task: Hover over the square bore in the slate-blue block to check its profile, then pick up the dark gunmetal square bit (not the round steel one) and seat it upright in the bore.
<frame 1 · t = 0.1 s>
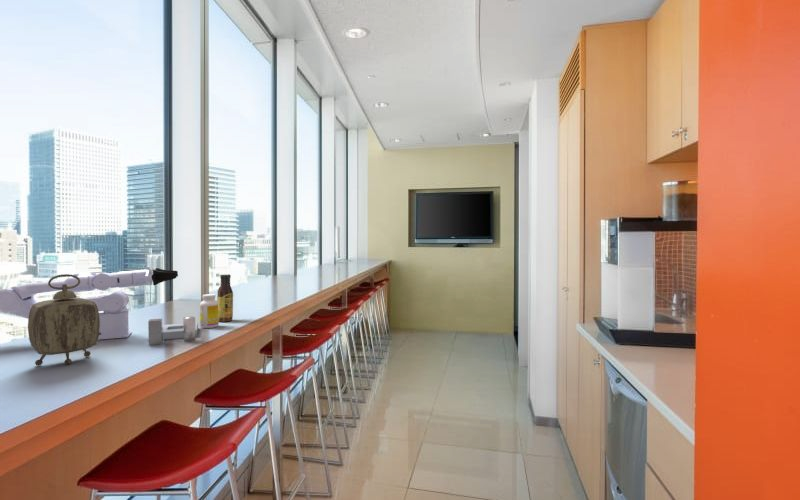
hand: (176, 274, 150), 22 cm above the counter, tool horizontal, fingers open, 7 cm apart
round bit: (189, 340, 137), on the counter
sauce bottle: (225, 321, 170), on the counter
supplement bottle: (209, 327, 159), on the counter
tabletop clock: (66, 363, 112), on the counter
bore block: (175, 334, 146), on the counter
square bit: (155, 343, 133), on the counter
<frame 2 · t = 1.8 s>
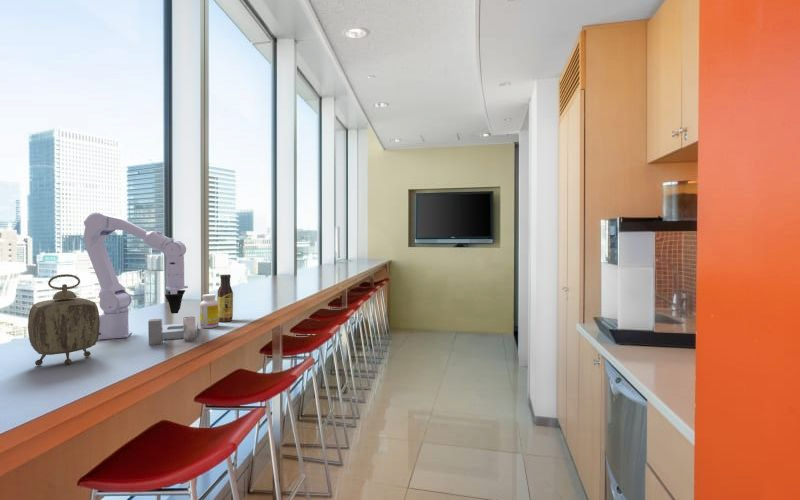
hand: (175, 311, 146), 8 cm above the counter, tool pointing down, fingers open, 7 cm apart
nothing on the counter moved.
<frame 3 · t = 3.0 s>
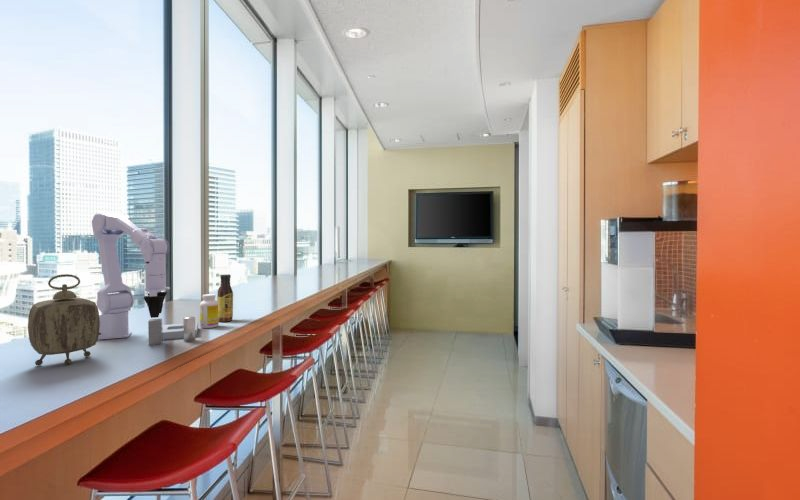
hand: (156, 315, 133), 9 cm above the counter, tool pointing down, fingers open, 7 cm apart
nothing on the counter moved.
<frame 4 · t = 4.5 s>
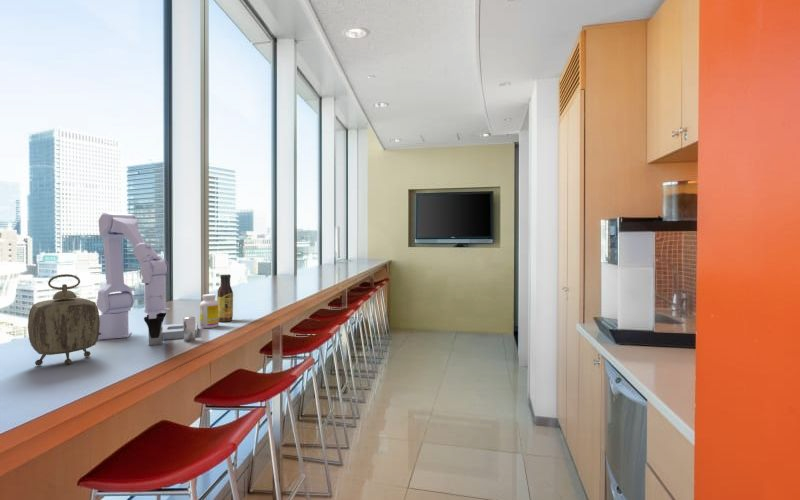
hand: (155, 336, 133), 2 cm above the counter, tool pointing down, fingers closed on square bit, 4 cm apart
square bit: (155, 343, 133), on the counter, touching gripper
everything else where it was.
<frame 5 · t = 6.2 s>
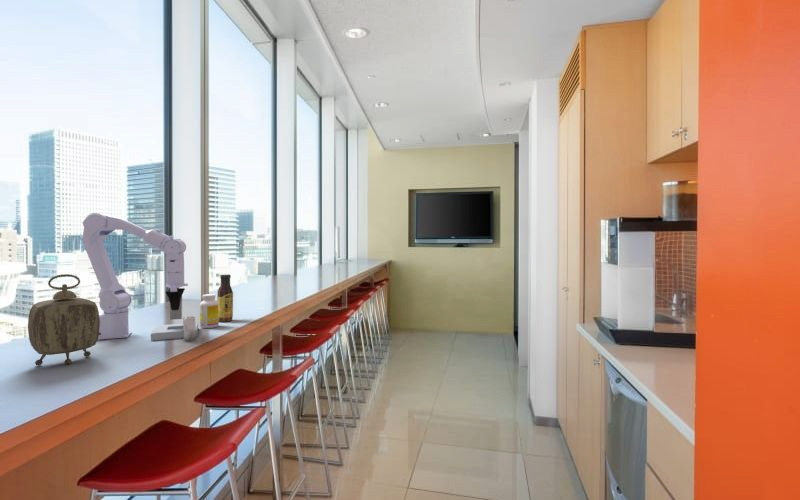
hand: (175, 309, 146), 9 cm above the counter, tool pointing down, fingers closed on square bit, 4 cm apart
square bit: (176, 318, 146), point 6 cm above the counter, touching gripper
everything else where it was.
when the fingers open (3 cm above the counter, at t = 7.9 s): square bit stays where it is, resting in bore block.
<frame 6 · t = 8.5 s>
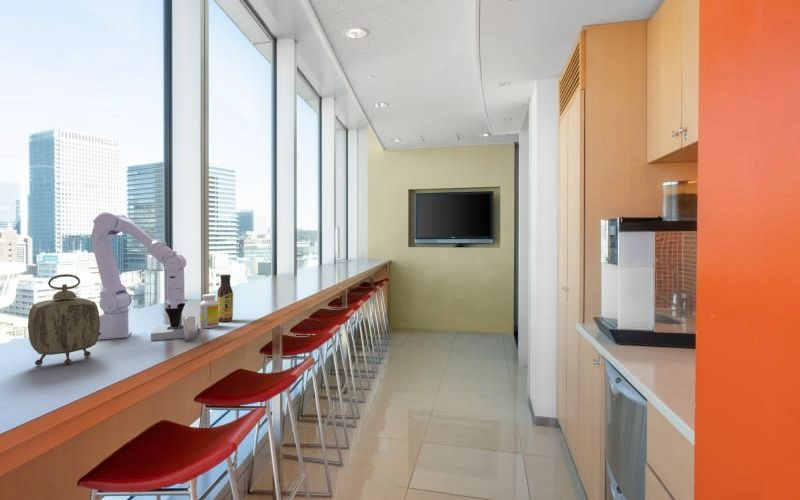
hand: (175, 325, 146), 3 cm above the counter, tool pointing down, fingers open, 7 cm apart
square bit: (176, 334, 146), resting in bore block
everything else where it was.
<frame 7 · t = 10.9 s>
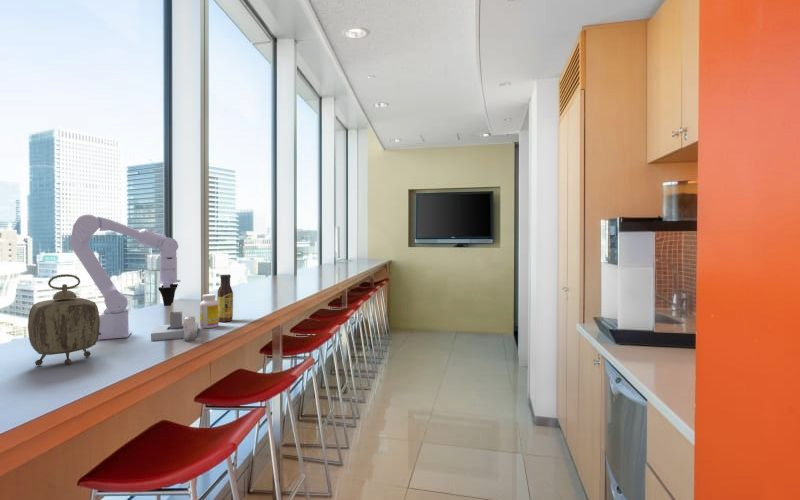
hand: (168, 304, 153), 10 cm above the counter, tool pointing down, fingers open, 7 cm apart
nothing on the counter moved.
at the end: square bit 0.2 cm off-centre on the bore block, point 0.0 cm above the bore block's base; square bit tilted 0°; round bit moved 0.0 cm from its start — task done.
